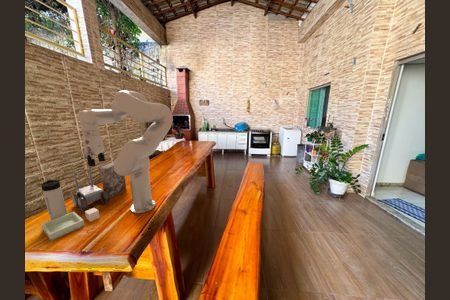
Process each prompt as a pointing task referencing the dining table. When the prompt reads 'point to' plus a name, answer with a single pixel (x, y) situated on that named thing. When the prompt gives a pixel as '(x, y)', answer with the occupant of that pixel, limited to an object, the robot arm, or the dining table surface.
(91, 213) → the white block
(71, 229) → the tray
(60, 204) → the travel mug
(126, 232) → the dining table surface
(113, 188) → the stone block
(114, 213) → the dining table surface
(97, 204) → the dining table surface
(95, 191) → the trolley
